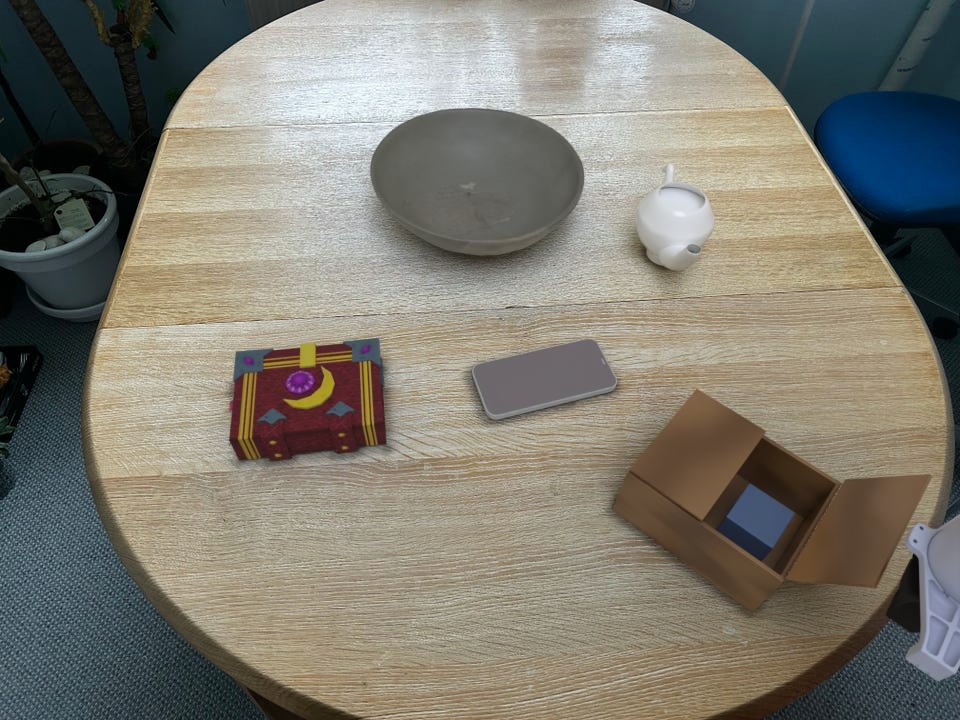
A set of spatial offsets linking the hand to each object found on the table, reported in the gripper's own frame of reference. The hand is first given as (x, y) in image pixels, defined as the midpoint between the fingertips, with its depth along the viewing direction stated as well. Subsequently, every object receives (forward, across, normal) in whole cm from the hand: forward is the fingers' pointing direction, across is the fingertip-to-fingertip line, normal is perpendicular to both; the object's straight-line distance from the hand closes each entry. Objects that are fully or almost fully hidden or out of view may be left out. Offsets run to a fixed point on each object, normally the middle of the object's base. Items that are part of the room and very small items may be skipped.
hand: (901, 617), depth 50 cm
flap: (-1, -4, -6) cm, 7 cm away
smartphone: (+10, -6, -37) cm, 39 cm away
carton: (+10, -4, -15) cm, 18 cm away
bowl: (+10, -22, -61) cm, 66 cm away
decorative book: (+10, +14, -53) cm, 56 cm away
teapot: (+10, -33, -38) cm, 51 cm away
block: (+9, -4, -11) cm, 15 cm away
